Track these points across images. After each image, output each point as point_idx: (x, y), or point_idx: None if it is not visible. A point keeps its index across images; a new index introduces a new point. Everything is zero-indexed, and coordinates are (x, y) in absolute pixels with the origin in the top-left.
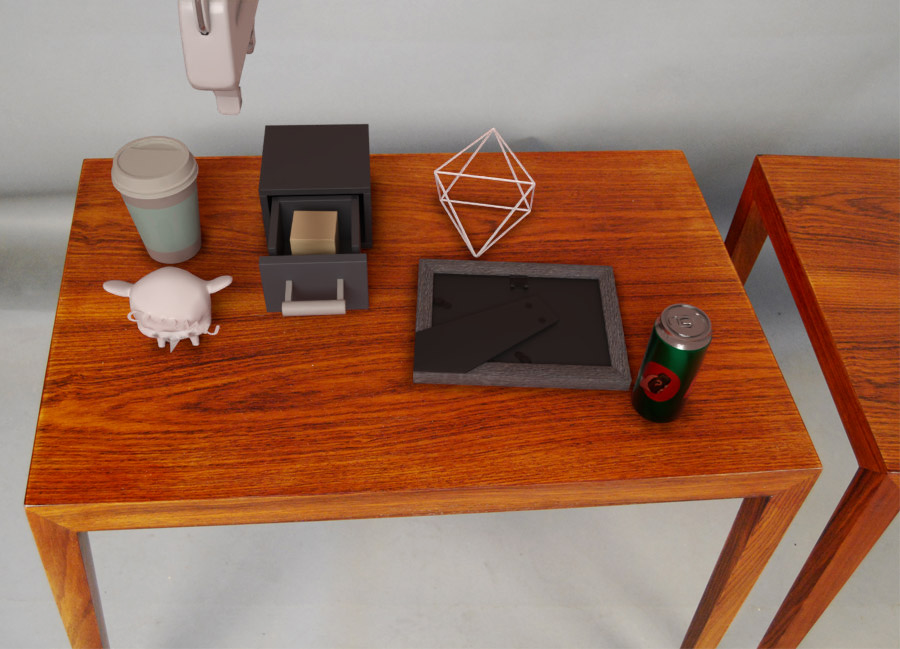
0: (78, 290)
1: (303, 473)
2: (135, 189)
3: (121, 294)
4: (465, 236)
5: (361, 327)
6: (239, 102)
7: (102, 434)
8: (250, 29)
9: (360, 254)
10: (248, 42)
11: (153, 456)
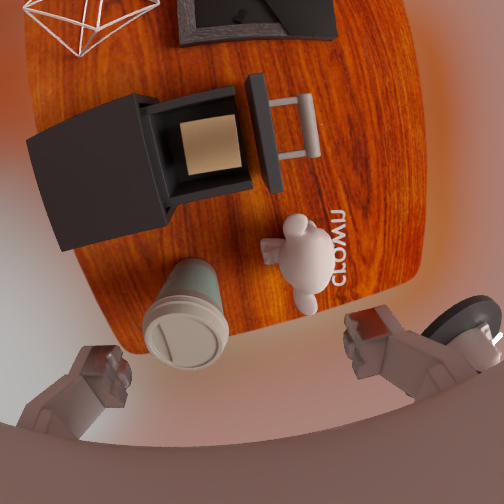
0: (257, 323)
1: (414, 122)
2: (226, 340)
3: (315, 298)
4: (147, 8)
5: (271, 87)
6: (395, 319)
7: (384, 260)
8: (325, 463)
9: (251, 81)
10: (386, 428)
11: (401, 224)
